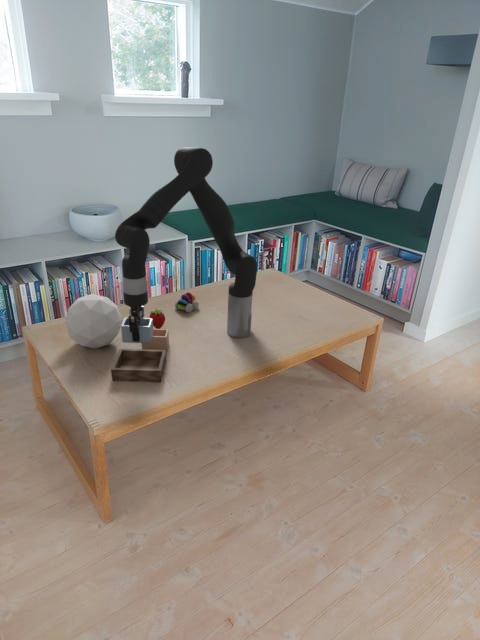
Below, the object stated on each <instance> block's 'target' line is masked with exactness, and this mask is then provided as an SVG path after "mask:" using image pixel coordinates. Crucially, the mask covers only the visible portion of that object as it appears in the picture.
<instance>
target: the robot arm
mask: <svg viewBox="0 0 480 640" xmlns="http://www.w3.org/2000/svg"><path fill="white" fill-rule="evenodd" d="M173 157H174V159H173V163H174V164H173V165H174V167H175V170H176V172H177V174H178V175H176V176H175V177H174V178H173V179H172V180H170V181H169V182H168V183H166V184H164V185H163V186H162V187H161V188H159V189H158V190H155V192H154V193H153V194H152V195H151V196H149V198H148V199H147V200H146V201H145V203H143V205H142V206H141V207H140V208H139V209H138V210H137V211H136V212H134V213H133V214H132V215H130V216H129V217H127V218H125V220H123V221H122V222H121V223H119V225H118V226H117V229H116V230H115V236H114V239H115V241H116V243H117V244H118V245H119V246H121V247H123V248H125V249H128V250H129V254H128V255H126V256H124V257H123V258H122V260H121V270H122V273H121V274H122V282H121V283H122V297H123V298H122V299H123V303H124V305H126V306H127V307H130V309H129V311H128V313H129V314H128V319H129V328H130V332H132V340H133V341H136V342H138V341H139V340H140V335H139V331H140V329H139V325H140V324H141V318H145V306H146V305H147V304H148V302H149V291H148V288H149V287H148V278H147V267H146V263H147V258H148V254H149V249H150V236H149V234H148V231H147V230H148V229H155V228H157V227H159V224H161V223H162V221H163V220H164V219H165V218H166V216H167V215H168V214H169V213H170V212H171V210H173V209H174V207H175V206H176V205H177V203H179V202H180V200H182V199H183V198H184V197H185V196H186V195H187V194H188V193H190V194H191V196H192V198H193V201H194V202H195V204H196V206H197V208H198V210H199V212H200V214H201V216H202V218H203V221H204V222H205V224H206V226H207V228H208V230H209V232H210V233H211V237H213V239H214V241H215V243H216V245H217V246H218V248H219V251H220V253H221V256H222V259H223V261H224V264H225V267H226V269H227V270H228V271H229V272H230V273H231V274H232V275H234V282H232V283H230V284H229V285H228V295H227V297H228V299H227V300H228V301H227V320H226V321H227V323H226V324H227V326H226V333H227V335H228V336H230V337H232V338H236V339H237V338H239V339H241V338H242V339H243V338H247V337H251V333H252V332H251V330H252V316H253V315H252V310H253V309H252V307H253V305H252V304H253V292H254V289H255V287H256V282H257V274H258V263H257V259H256V258H255V257H254V256H252V254H249V253H248V252H245V251H244V250H243V249H242V248H241V245H240V244H239V242H238V240H237V238H236V235H235V233H236V232H235V227H236V226H235V221H234V218H233V215H232V213H231V211H230V208H229V207H228V205H227V202H226V201H225V200H224V199H223V198H222V197H221V195H220V194H219V193H217V191H216V190H215V189H213V188H212V186H210V184H209V183H208V181H207V180H206V178H207V177H208V175H210V173H211V172H212V169H213V164H214V163H213V155H212V154H211V152H209V151H208V149H206V148H202V147H195V146H194V147H191V146H190V147H189V146H188V147H187V146H186V147H181V148H179V149H178V150H177V151H176V152H175V154H174V156H173ZM137 320H139V321H137ZM133 327H136V328H133Z"/></svg>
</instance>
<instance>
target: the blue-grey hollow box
mask: <svg viewBox="0 0 480 640" xmlns="http://www.w3.org/2000/svg"><path fill="white" fill-rule="evenodd" d="M128 317H129V316H128ZM128 317H124V318H123V320H122V323H121V326H120V329H121V341H122V343H124V344H125V343H130V344H142V343H151V340H152V337H153V329H154V326H153V318H149V317H143V318H141V324H140V325H139V329H140V331H139V335H140V340H139V341H138V342H136V341H133V340H132V332H130V328H129V319H128ZM137 321H139V320H137ZM133 328H136V327H133Z"/></svg>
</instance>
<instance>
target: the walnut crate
mask: <svg viewBox="0 0 480 640" xmlns="http://www.w3.org/2000/svg"><path fill="white" fill-rule="evenodd" d="M166 364H167V351H166V350H144V349H142V348H140V349H139V348H138V349H137V348H119V349H118V352H117V355H116V357H115V360H114V362H113V364H112V367H111V369H110V372H111V381H112V382H135V383H137V382H139V383H162V382H161V381H163V377H164V373H165V367H166Z"/></svg>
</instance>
